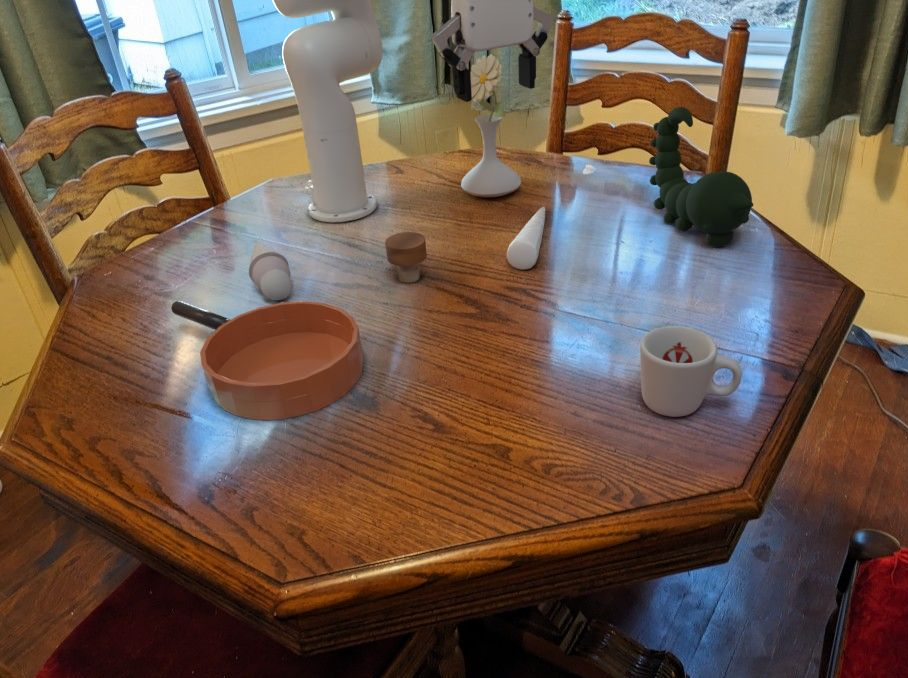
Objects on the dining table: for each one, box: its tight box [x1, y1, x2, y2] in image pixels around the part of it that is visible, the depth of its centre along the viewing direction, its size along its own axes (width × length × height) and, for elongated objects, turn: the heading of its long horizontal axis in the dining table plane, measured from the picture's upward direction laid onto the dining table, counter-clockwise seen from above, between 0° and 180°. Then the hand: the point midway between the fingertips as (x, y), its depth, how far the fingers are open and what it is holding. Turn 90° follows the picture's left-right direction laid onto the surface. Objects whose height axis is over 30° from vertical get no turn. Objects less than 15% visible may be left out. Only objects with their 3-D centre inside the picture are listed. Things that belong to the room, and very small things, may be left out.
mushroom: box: [384, 231, 428, 284], centre depth 110 cm, size 6×6×6 cm
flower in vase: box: [460, 53, 522, 198], centre depth 131 cm, size 13×11×25 cm
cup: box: [639, 325, 742, 418], centre depth 80 cm, size 11×8×8 cm
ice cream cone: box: [248, 240, 293, 301], centre depth 111 cm, size 6×6×15 cm
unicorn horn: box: [506, 206, 546, 271], centre depth 119 cm, size 5×24×5 cm, turn 163°
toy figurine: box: [648, 106, 754, 247], centre depth 114 cm, size 9×19×25 cm
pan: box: [199, 300, 364, 421], centre depth 92 cm, size 19×19×5 cm
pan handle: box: [170, 300, 232, 331], centre depth 98 cm, size 12×2×2 cm, turn 55°
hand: (495, 92), depth 98 cm, fingers open, 9 cm apart
